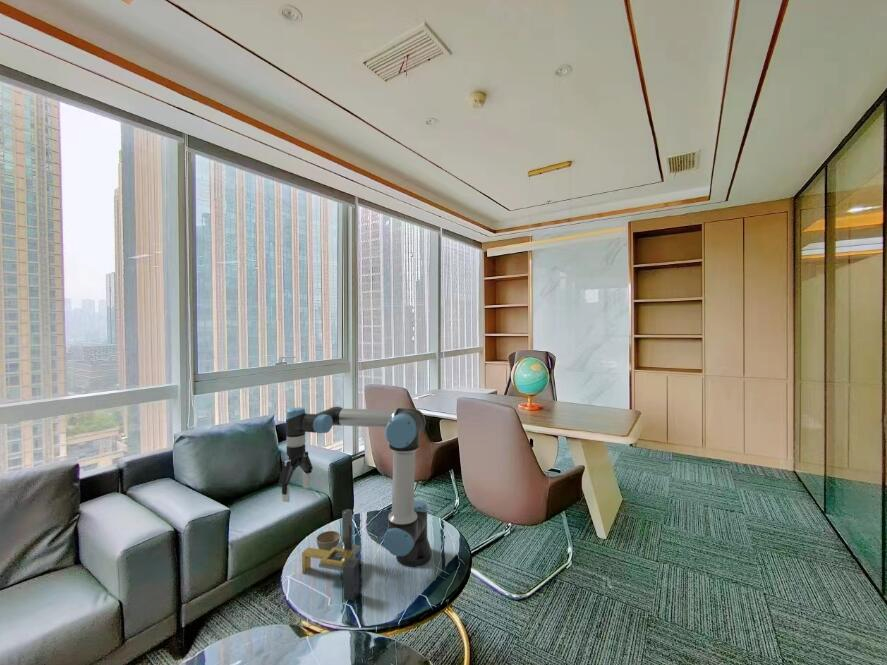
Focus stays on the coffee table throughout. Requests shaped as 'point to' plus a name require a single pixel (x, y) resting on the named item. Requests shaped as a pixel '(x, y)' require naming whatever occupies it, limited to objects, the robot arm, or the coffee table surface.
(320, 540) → the flower pot
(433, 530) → the coffee table surface
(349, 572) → the dark grey block
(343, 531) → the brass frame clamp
